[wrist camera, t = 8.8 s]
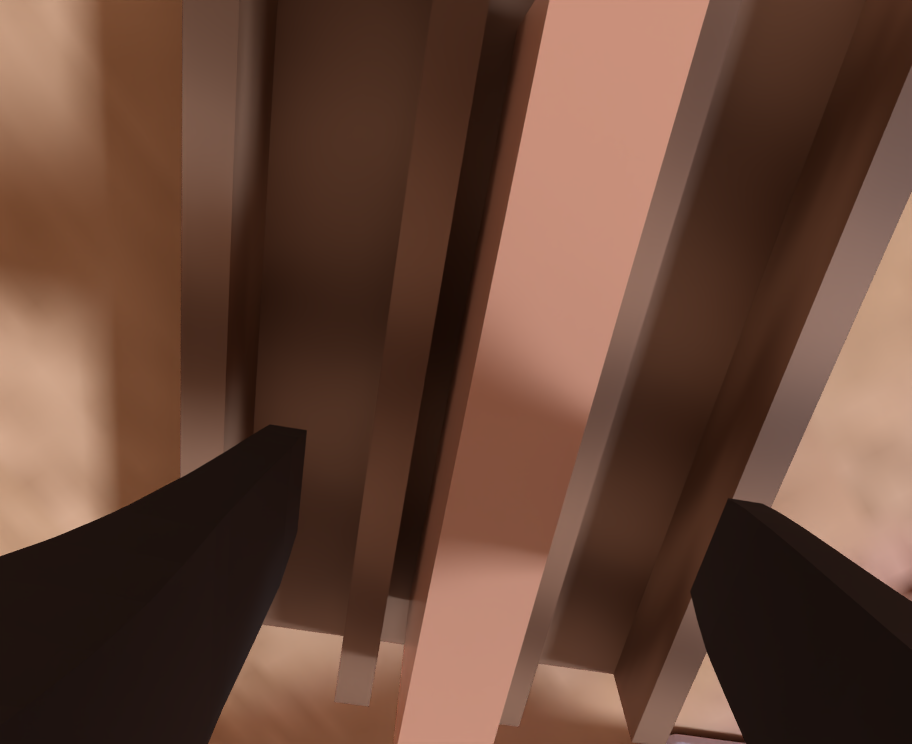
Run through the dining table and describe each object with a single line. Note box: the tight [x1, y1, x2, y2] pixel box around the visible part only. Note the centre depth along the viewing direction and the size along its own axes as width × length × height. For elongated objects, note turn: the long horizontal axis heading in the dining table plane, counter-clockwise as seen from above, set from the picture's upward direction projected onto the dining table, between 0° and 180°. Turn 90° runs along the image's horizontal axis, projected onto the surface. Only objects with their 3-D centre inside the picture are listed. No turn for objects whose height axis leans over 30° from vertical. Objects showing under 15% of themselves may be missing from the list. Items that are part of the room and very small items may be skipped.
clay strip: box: [393, 0, 710, 744], centre depth 14 cm, size 16×2×6 cm, turn 170°
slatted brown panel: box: [180, 0, 912, 744], centre depth 16 cm, size 20×14×3 cm
